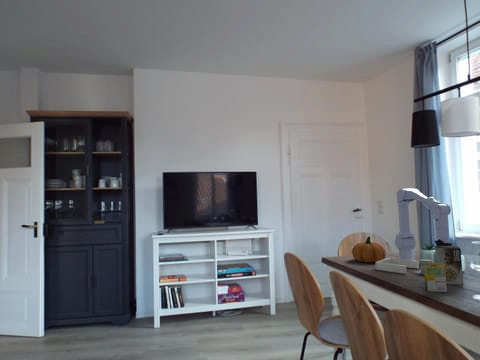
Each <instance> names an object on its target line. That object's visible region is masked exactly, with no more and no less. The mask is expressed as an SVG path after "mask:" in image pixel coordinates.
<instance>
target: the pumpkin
mask: <svg viewBox="0 0 480 360" xmlns="http://www.w3.org/2000/svg"><path fill="white" fill-rule="evenodd" d="M351 254H352V255H351V256H353V258H354V259H355V260H356V261H358V262H362V263H367V262H368V264H369V263H370V264H371V263H372V264H373V263H375V262H377V261H381V260H384V259H386V257H387V252H386V250H385V247H383V246H382V245H381V244H379V243H378V242H371V236H367V238H366V241H365V242H363V241H361V242H358V243H356V244H355V245H354V246H353V248H352V250H351Z"/></svg>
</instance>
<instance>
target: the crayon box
mask: <svg viewBox="0 0 480 360" xmlns="http://www.w3.org/2000/svg"><path fill="white" fill-rule="evenodd" d="M431 265H432V266H431ZM434 265H435V266H434ZM436 265H440V266H437V267H436ZM424 272H425V275H424V286H425V290H426V291H427V292H436V293H437V292H441V293H442V292H443V293H447V292H448V290H447V289H448V288H447V287H448V286H447V285H448V284H446V272H445V263H436V262H432V263H426V266H424Z"/></svg>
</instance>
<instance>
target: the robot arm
mask: <svg viewBox="0 0 480 360" xmlns="http://www.w3.org/2000/svg"><path fill="white" fill-rule="evenodd" d="M415 200H417V201H419V203H422V204H423V206H424V207H425V208H426V209H428V210H430V212H431V214H432V215H433V218H434V227H435V236H433V237H432V238H433V239H435V240H434V243H435V246H453V243H452V242H450V241H449V240H450V238H451V237H450V227H449V225H450V223H449V215H450V214H451V210H452V209H451V206H450V205H449V204H448V203H441V201H438V200H437V199H435V197H433V196H429V197H428V196H426V195H424V194H423V193H422V192H420V190H419V189H417V188H416V187H414V188H399V189H398V190H397V192H396V201H397V208H398V209H397V210H398V222H399V223H398V224H399V232H398V233H397V234H396V235H395V240H394V244H395V247H396V248H397V250H398V259H405V260H414V261H416V252H415V250H414V249H415V248H416V244H417V242H416V239H415V235H414V234H413V233H412V232H411V226H410V215H409V212H410V211H409V204H411V203H412V202H414V201H415Z"/></svg>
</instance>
